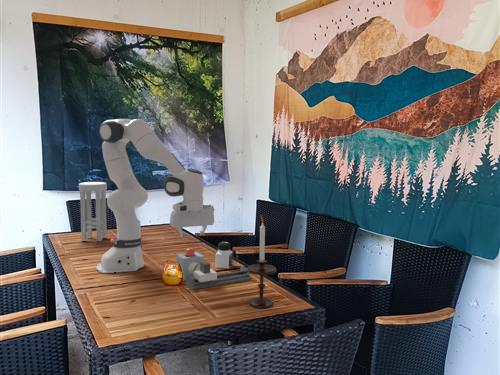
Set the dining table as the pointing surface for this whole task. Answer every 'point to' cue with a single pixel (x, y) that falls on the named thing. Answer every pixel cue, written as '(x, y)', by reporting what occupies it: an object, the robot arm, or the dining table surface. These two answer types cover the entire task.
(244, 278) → the rail
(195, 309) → the dining table surface
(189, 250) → the button
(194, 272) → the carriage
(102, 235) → the stool
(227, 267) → the medicine bottle
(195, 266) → the gauge cabinet
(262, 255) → the candlestick
